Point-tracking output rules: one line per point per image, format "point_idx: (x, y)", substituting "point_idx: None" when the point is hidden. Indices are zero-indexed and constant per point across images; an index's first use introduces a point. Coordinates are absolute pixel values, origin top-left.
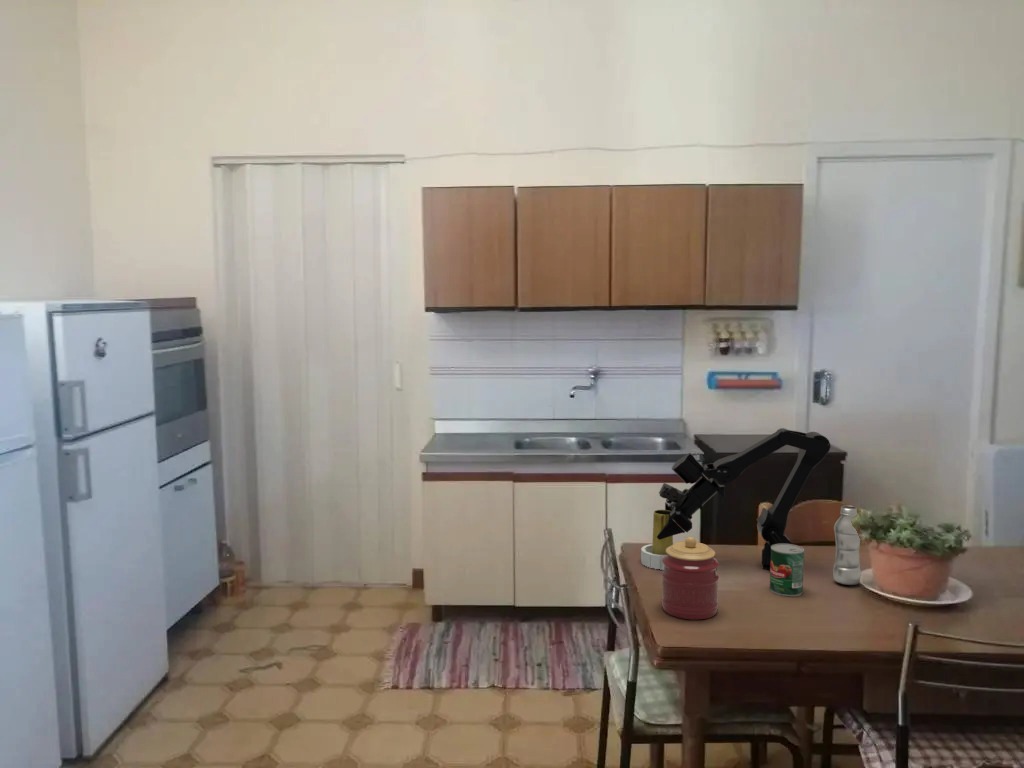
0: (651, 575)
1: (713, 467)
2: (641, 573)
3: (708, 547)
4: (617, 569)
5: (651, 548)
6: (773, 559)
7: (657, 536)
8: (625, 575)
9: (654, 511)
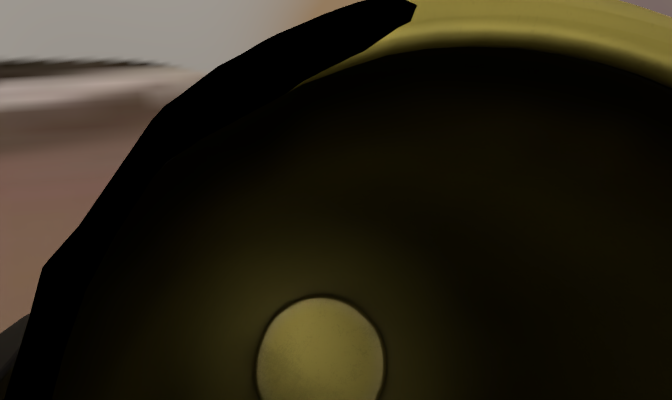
0: (13, 300)
1: None
2: (56, 222)
3: None
4: (128, 65)
5: None
6: None
7: (12, 326)
8: (3, 120)
9: (541, 12)
